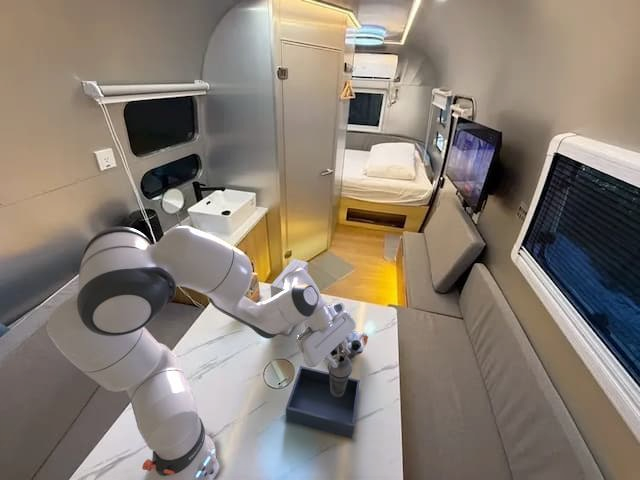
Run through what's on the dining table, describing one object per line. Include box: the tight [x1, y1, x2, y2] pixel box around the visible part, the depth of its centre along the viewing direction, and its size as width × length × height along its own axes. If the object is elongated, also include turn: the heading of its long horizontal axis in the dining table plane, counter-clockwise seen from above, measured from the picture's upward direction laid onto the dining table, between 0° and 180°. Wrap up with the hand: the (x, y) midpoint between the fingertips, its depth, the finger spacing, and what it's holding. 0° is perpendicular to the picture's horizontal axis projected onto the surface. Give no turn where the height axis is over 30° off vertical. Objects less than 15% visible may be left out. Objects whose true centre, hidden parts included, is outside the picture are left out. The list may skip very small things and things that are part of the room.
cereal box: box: [269, 258, 309, 335], centre depth 124 cm, size 22×8×25 cm, turn 159°
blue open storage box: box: [285, 365, 361, 440], centre depth 92 cm, size 16×22×7 cm
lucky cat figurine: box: [330, 330, 369, 362], centre depth 110 cm, size 15×12×14 cm
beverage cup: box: [327, 347, 353, 397], centre depth 83 cm, size 7×7×20 cm
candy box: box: [245, 271, 261, 303], centre depth 133 cm, size 9×4×15 cm, turn 159°
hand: (342, 360), depth 80 cm, fingers closed on beverage cup, 4 cm apart
